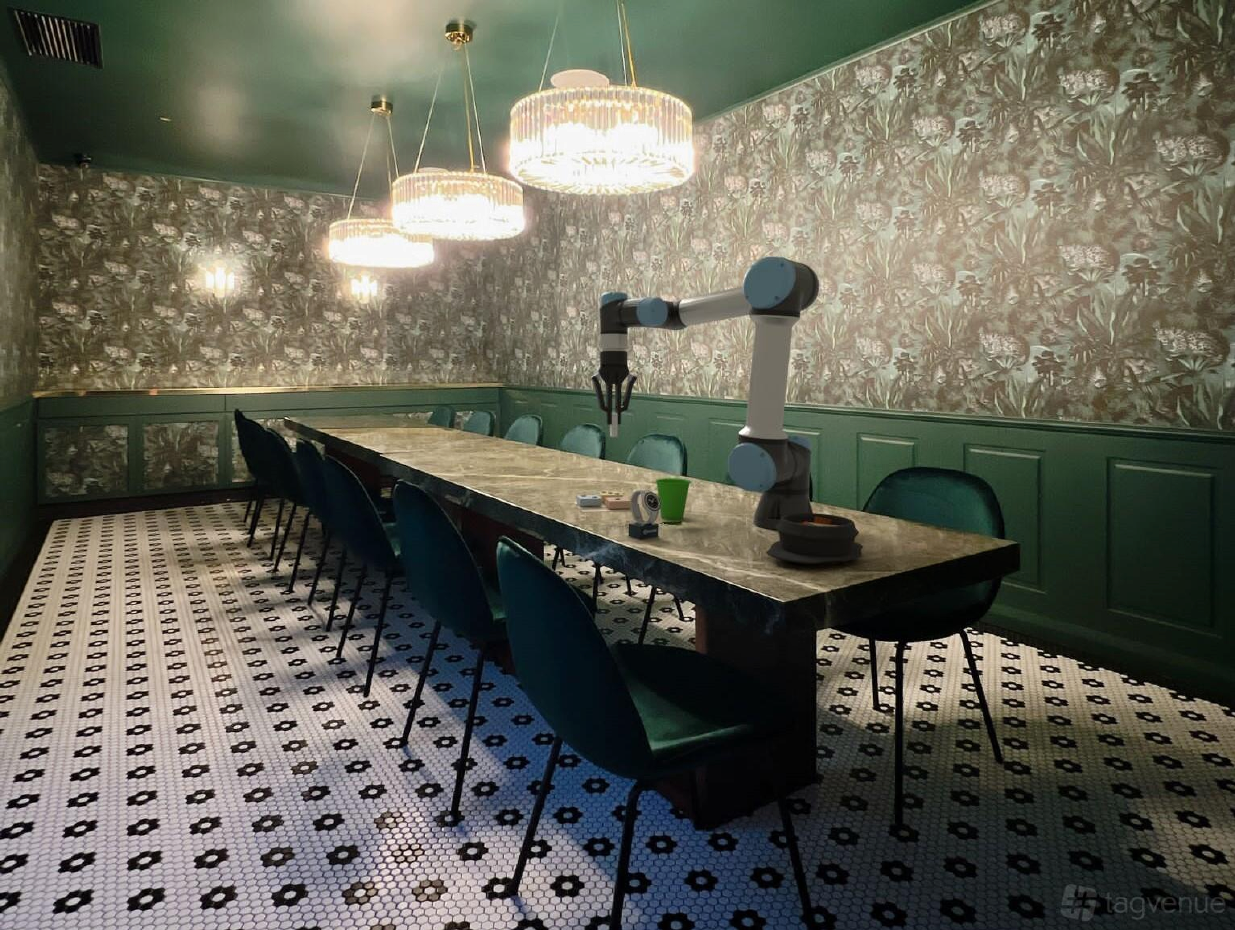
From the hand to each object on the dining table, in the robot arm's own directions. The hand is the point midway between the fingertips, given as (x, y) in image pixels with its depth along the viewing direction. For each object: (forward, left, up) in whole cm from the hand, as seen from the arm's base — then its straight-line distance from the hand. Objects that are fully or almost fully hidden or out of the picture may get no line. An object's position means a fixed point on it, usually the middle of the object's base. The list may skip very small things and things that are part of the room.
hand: (613, 436), depth 208 cm
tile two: (-1, +7, -19) cm, 20 cm away
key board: (-1, +3, -20) cm, 21 cm away
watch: (-35, 0, -21) cm, 41 cm away
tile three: (+4, 0, -19) cm, 19 cm away
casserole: (-60, -31, -21) cm, 71 cm away
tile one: (-6, 0, -19) cm, 20 cm away
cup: (-21, -11, -21) cm, 32 cm away
